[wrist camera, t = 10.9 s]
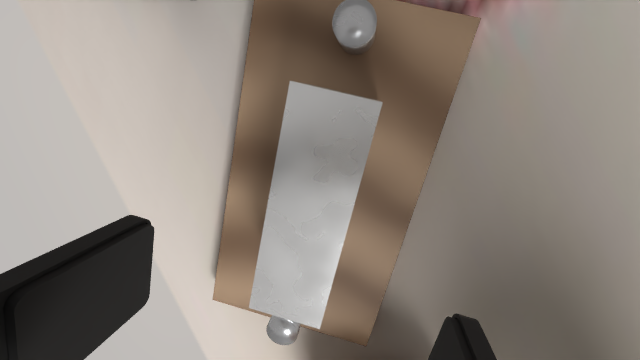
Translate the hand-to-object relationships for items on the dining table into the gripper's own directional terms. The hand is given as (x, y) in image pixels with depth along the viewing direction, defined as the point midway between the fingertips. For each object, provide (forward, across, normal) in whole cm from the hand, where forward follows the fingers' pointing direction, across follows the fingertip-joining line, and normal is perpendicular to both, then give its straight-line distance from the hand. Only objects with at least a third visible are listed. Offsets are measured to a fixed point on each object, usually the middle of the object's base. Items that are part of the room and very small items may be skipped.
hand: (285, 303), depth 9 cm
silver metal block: (+10, +1, 0) cm, 10 cm away
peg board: (+12, +1, -1) cm, 12 cm away
